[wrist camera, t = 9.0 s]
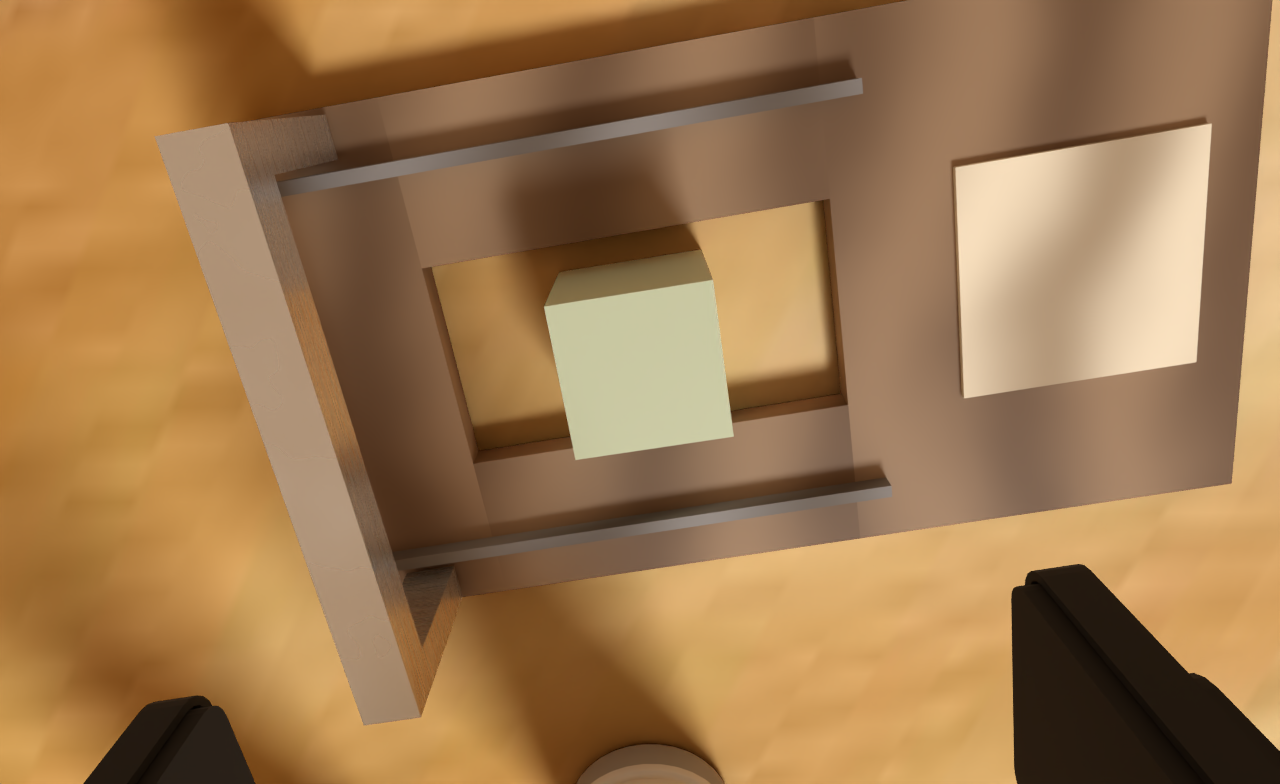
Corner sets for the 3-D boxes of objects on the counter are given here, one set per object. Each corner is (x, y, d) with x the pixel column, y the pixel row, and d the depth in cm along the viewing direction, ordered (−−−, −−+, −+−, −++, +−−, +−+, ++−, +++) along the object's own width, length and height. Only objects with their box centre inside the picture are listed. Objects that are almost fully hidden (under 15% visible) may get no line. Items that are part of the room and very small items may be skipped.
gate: (325, 114, 23) (228, 123, 17) (462, 596, 28) (420, 717, 23) (268, 124, 23) (154, 136, 17) (416, 603, 28) (363, 725, 23)
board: (1251, -62, 22) (1295, -72, 21) (1211, 470, 28) (1244, 491, 26) (252, 121, 24) (226, 123, 22) (400, 590, 29) (387, 617, 28)
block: (701, 248, 25) (712, 279, 21) (719, 383, 27) (734, 436, 23) (559, 271, 26) (543, 306, 21) (585, 403, 27) (575, 460, 23)
